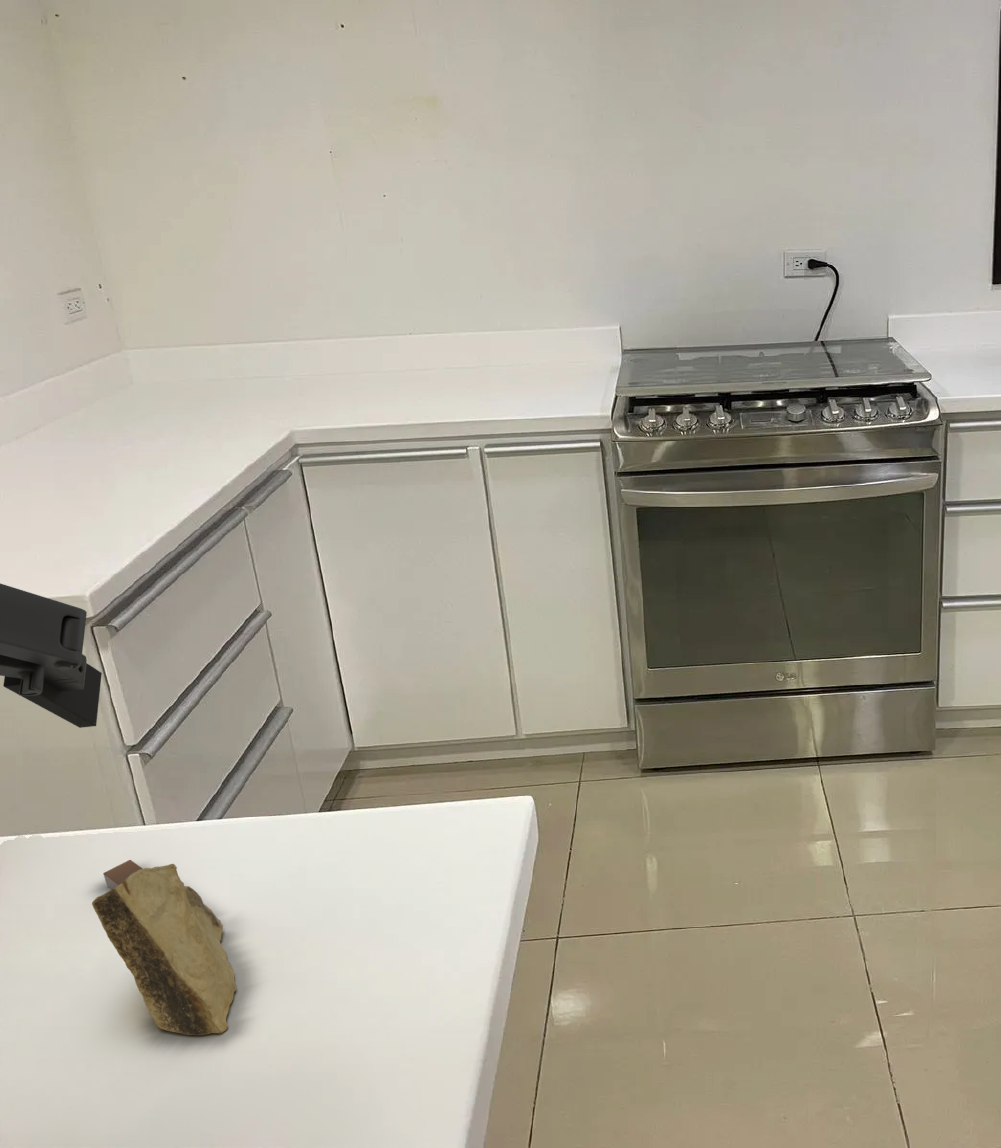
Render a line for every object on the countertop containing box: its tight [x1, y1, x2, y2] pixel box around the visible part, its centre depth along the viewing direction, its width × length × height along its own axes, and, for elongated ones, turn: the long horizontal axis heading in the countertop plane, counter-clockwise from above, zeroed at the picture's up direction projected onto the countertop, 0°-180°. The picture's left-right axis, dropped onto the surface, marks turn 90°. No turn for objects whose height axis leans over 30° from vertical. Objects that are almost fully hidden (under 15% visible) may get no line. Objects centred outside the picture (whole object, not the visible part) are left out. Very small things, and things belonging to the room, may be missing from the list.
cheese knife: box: [103, 859, 144, 890], centre depth 81 cm, size 10×2×1 cm, turn 53°
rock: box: [91, 863, 237, 1036], centre depth 72 cm, size 11×9×10 cm
